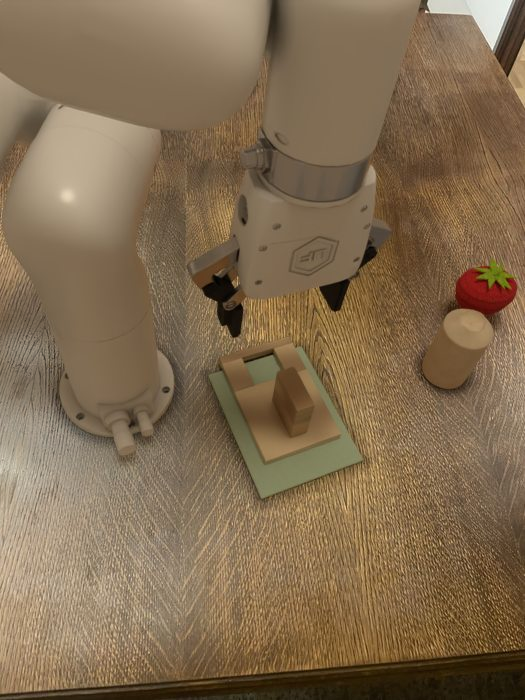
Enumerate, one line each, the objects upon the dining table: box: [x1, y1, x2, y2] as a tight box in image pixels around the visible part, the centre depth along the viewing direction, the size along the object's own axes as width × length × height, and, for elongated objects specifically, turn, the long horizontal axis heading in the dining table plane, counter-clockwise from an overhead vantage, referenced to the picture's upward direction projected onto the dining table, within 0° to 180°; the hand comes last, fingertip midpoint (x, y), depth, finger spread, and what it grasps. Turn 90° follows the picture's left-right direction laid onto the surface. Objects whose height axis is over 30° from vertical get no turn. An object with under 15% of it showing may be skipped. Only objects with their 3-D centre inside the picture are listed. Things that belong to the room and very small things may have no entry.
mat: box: [207, 345, 364, 501], centre depth 68 cm, size 16×12×1 cm
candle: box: [421, 308, 494, 390], centre depth 69 cm, size 6×6×10 cm
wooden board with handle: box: [218, 335, 341, 465], centre depth 66 cm, size 14×9×7 cm, turn 23°
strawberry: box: [454, 256, 518, 318], centre depth 74 cm, size 6×8×10 cm
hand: (280, 311), depth 54 cm, fingers open, 9 cm apart
